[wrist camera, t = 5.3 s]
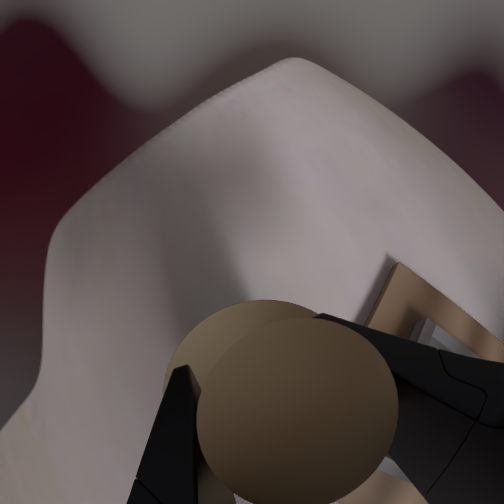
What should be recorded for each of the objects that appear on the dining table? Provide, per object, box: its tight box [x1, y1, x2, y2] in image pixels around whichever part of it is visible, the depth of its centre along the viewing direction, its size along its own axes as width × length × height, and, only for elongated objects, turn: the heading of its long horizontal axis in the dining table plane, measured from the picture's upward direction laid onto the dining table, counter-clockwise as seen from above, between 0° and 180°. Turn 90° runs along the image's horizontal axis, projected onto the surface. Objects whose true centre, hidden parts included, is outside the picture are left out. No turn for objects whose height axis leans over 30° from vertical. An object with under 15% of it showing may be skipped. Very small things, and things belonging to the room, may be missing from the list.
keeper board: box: [336, 262, 504, 504], centre depth 18 cm, size 18×18×2 cm
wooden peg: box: [163, 300, 398, 504], centre depth 10 cm, size 6×6×12 cm
